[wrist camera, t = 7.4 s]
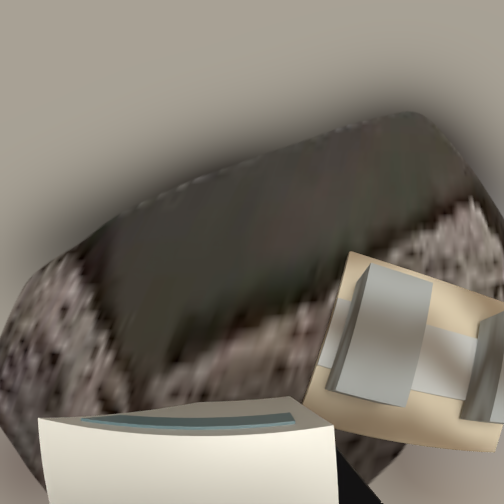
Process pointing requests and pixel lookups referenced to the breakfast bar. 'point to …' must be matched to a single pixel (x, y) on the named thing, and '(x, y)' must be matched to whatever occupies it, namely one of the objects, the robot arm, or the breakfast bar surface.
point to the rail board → (418, 407)
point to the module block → (193, 455)
